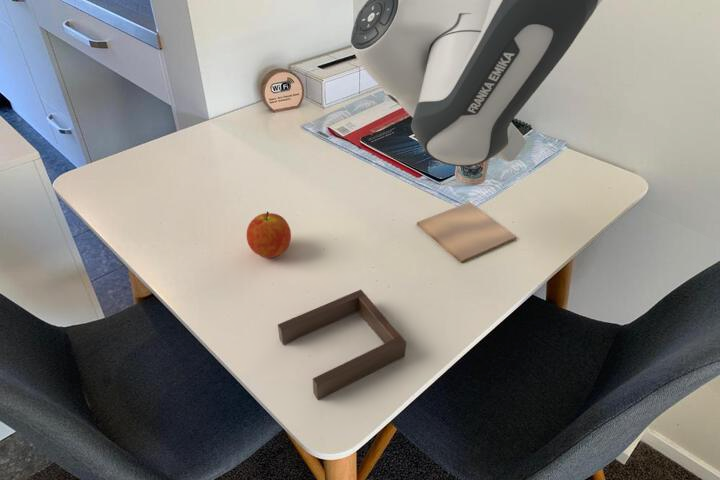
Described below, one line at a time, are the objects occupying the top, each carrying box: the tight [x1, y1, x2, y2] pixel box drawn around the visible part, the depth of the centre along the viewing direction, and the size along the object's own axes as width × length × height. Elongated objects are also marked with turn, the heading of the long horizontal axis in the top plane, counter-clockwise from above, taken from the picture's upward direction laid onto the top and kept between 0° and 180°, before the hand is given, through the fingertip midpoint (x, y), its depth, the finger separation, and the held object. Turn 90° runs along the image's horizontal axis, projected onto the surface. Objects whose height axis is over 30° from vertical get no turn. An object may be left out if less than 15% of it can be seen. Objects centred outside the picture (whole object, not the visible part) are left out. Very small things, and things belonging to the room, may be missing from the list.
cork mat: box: [416, 202, 517, 264], centre depth 90 cm, size 12×12×1 cm
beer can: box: [454, 158, 491, 187], centre depth 78 cm, size 5×5×12 cm
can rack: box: [277, 289, 407, 401], centre depth 69 cm, size 11×13×3 cm
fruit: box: [246, 211, 292, 259], centre depth 83 cm, size 7×7×8 cm
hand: (478, 140), depth 78 cm, fingers closed on beer can, 5 cm apart
